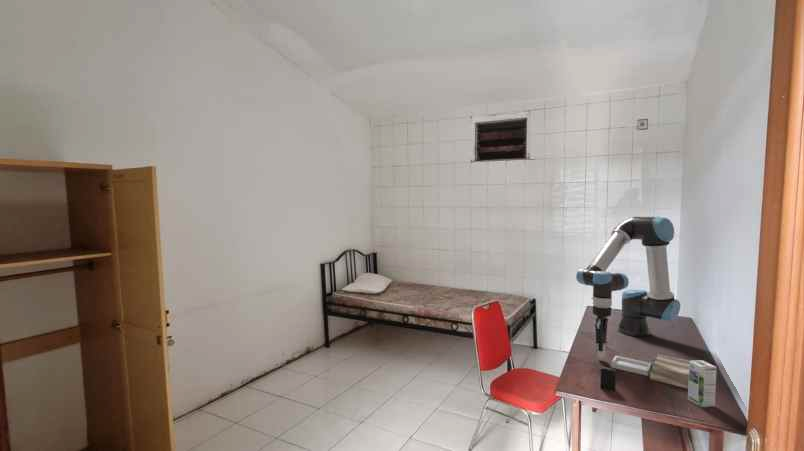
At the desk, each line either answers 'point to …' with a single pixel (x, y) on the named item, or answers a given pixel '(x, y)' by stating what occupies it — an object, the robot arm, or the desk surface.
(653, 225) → the robot arm
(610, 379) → the ink cartridge
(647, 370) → the white tray
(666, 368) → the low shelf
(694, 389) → the syrup box
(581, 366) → the desk surface
